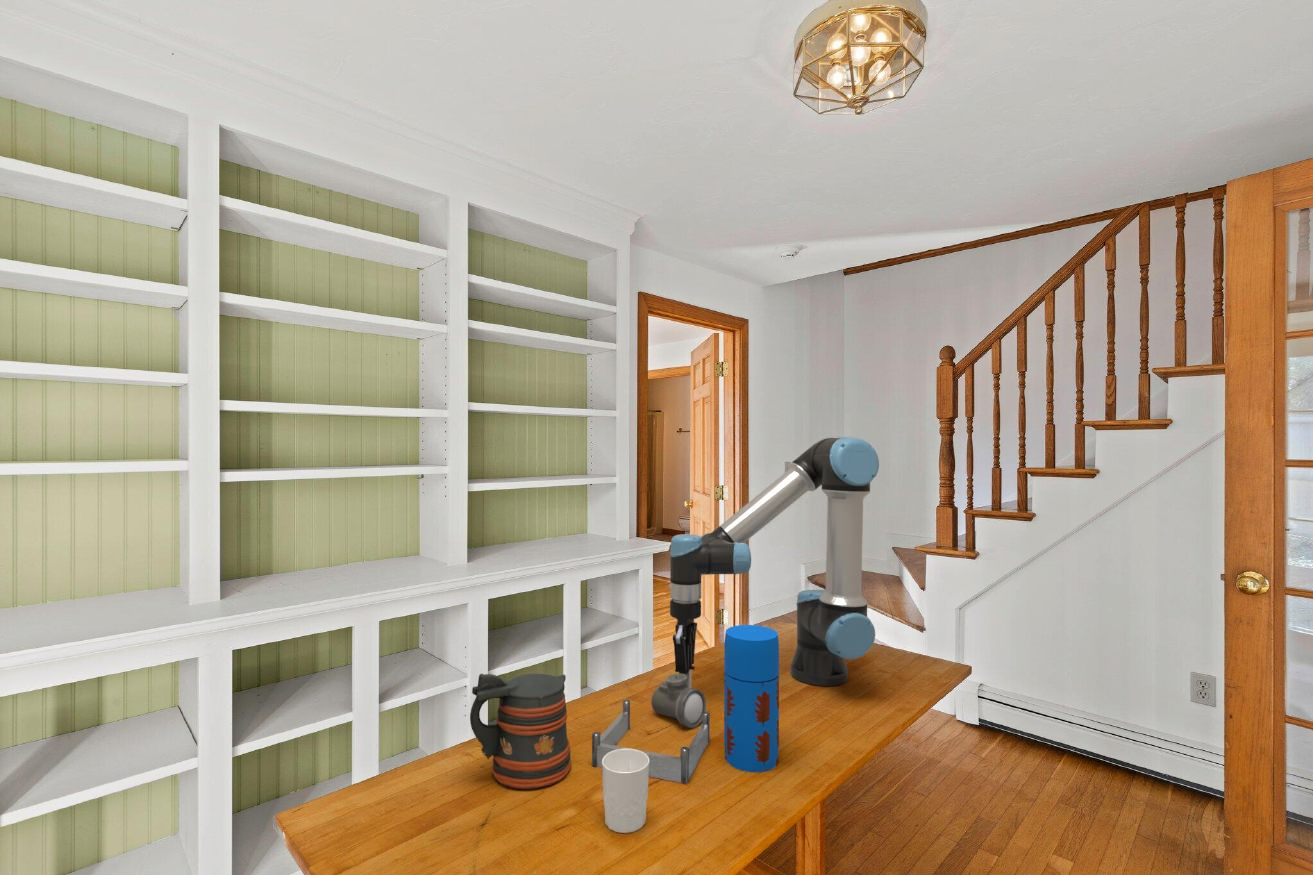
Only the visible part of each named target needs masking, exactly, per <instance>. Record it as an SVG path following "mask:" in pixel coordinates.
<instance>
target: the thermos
mask: <svg viewBox="0 0 1313 875" xmlns="http://www.w3.org/2000/svg"><path fill="white" fill-rule="evenodd" d="M779 641H780V640H779V634H778V631H776V630H775V629H773V628H770V627H768V626H763V625H754V624H740V625H733V626H730V627H728V628H727V629H725V636H724V641H723V642H724V645H723V646H724V650H723V651H724V655H723V656H724V657H723V658H724V660H723V661H724V666H723V668H724V669H723V671H724V674H723V675H724V676H723V677H724V680H723V684H724V689H723V691H724V692H723V693H724V696H723V697H724V699H723V700H724V701H723V704H724V705H723V706H724V707H723V710H724V712H723V713H724V714H723V741H724V742H723V744H724V759H725V761H726V763H727V764H729V766H732V767H733V768H734V769H737V770H738V771H739V770H740V771H743V772H749V773H763V772H768V771H770V770H772V769H774V768H775V767H776V766H777V764H778V761H779V747H780V744H779V743H780V642H779Z"/></svg>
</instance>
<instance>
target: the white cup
mask: <svg viewBox="0 0 1313 875" xmlns="http://www.w3.org/2000/svg"><path fill="white" fill-rule="evenodd" d="M639 750H640V749H637V750H636V749H635V748H631V749H618V750H614V751H611V752H609V753H607V754H606V755H605V756H604V757H603V759H602V767H601V771H602V772H601V773H602V792H603V793H602V797H603V799H602V800H603V807H604V823H605V825H606V827H608V829H609V830H611V831H612V832H613V831H614V832H615V833H620V834H622V833H623V834H628V833H635V832H636V831H638V830H640V829H642V828H643V826H644V825H645V823H646V819H647V816H646V815H647V804H648V796H649V795H648V793H649V778H650V777H649V757H648V756H647V755H646V754H645V753H644V752H642V751H643V750H642V751H639Z"/></svg>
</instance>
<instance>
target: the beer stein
mask: <svg viewBox="0 0 1313 875" xmlns="http://www.w3.org/2000/svg"><path fill="white" fill-rule="evenodd" d="M566 679H567V678H566V674H562V675H558V676H556V675H555V676H554V675H552V674H551V675H550V674H545V673H528V674H527V673H526V674H522V675H519V676H516V677H514V678H511V679H509V680H503V679H502V678H501V677H500V676H498V675H496V674H492V673H487V674H485V673H484V674H483V673H480V674H479V675H478V681H477V686H472V690H471V691H472V692H471V693H472V695H474V696H475V699H474V701H473V703H472V706H471V709H470V712H469V713H470V714H469V721H470V727H471V730H472V732H473V734H474V736H475V737H476V739H477V741H478V743H479V744H480V745H481V746H482V748H481V753H482V755H483V756H485V757H486V758H487V760H489V759H490V758H491V757H492V759H493V760H492V768H491V771H492V774H493V775H494V776H493V777H494V778H495V780H497V782H499V783H500V784H501V785H502V786H506V787H510V788H512V789H516V790H531V789H532V790H533V789H539V788H543V787H548V786H551V785H554V784H557V783H558V782H560V781H561V780H562V779H564V778H565V777H566V776H567V775H568V773H569V772H570V769H571V767H572V761H571V760H572V759H571V745H570V741H569V739H568V731H567V730H568V728H567V718H568V714H567V713H568V711H567V702H566V694H565V688H566V687H565V686H566V685H565V682H566ZM492 699H499V700H498V701H499V702H498V709H497V717H496V723H495V724H485V723H483V722H482V720H481V717H480V712H481V709H482V707H483V705H484V704H485V703H486V702H487V701H489V700H492Z"/></svg>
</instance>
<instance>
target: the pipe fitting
mask: <svg viewBox="0 0 1313 875" xmlns="http://www.w3.org/2000/svg"><path fill="white" fill-rule="evenodd" d="M687 682H688V678H687V675H686V674H679V673H673V674H671V675H668V676H667V677H666V678H665V681H662V682H661V683H660V684H659V685H658V688H656V689H655V690H654V691H653V693H652V696H651V699H650V700H651V701H650V702H651V708H652V710H653V711H654V712H655V713H656V714H660V715H661V716H666V717H669V718H673V719H677V721H678V722H679V724H680V725H681V726H683V727H685V728H690V729H695V728H697V727H698V726H700V724H702V712H707V701H706V697H705V694H704V693H703V691H702V690H700V689H698V688H692V687H691V688H688V685H687Z"/></svg>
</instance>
